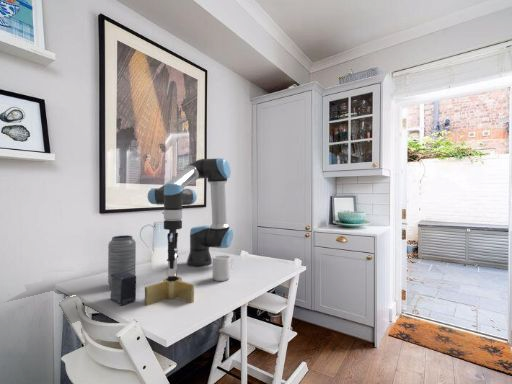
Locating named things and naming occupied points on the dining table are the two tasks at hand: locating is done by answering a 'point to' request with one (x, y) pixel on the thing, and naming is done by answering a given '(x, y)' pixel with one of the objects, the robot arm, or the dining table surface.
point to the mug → (222, 267)
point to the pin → (173, 278)
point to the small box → (123, 288)
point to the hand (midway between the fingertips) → (172, 274)
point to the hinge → (169, 291)
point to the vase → (121, 255)
